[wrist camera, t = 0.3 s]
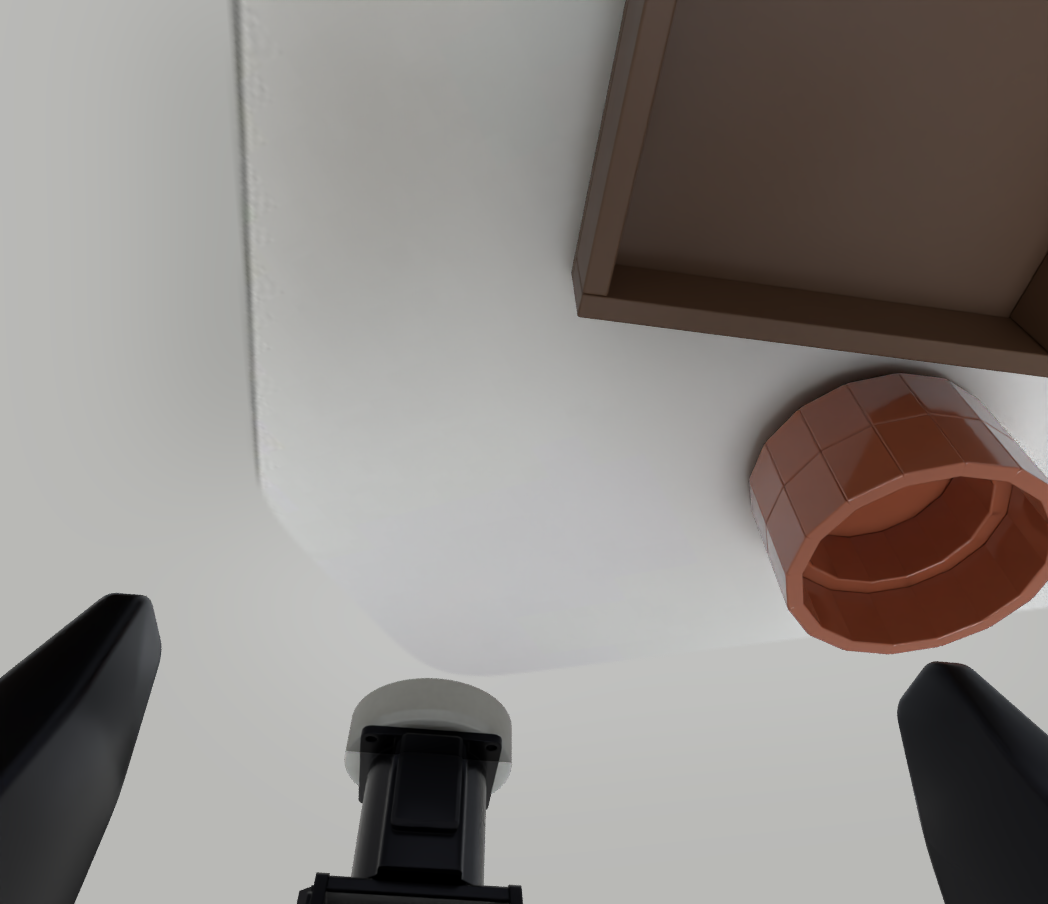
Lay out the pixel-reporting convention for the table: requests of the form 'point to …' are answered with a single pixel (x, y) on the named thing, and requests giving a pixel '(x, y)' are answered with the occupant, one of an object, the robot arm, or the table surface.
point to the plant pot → (900, 515)
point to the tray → (827, 177)
